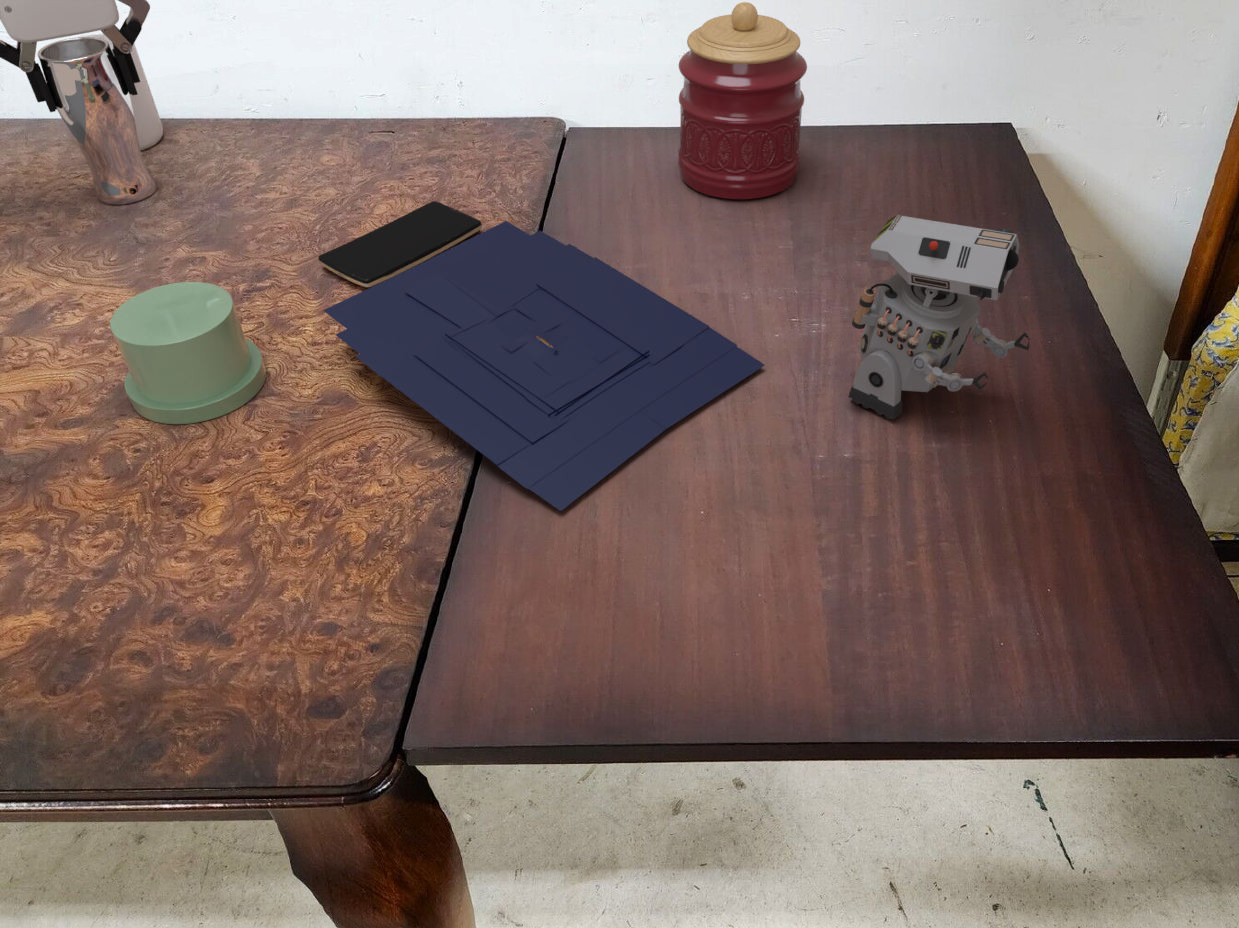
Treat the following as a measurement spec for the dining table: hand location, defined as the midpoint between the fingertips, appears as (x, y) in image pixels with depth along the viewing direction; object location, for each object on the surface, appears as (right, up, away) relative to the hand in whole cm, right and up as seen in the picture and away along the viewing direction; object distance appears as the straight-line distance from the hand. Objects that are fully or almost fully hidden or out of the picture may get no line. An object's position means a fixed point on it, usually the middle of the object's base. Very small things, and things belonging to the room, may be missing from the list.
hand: (91, 97), depth 107 cm
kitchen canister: (+66, -5, +8) cm, 67 cm away
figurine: (+79, -33, -21) cm, 88 cm away
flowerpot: (+19, -31, -19) cm, 41 cm away
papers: (+47, -29, -17) cm, 58 cm away
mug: (-4, 0, +15) cm, 16 cm away
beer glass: (0, -8, +7) cm, 10 cm away
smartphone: (+32, -16, -3) cm, 36 cm away
